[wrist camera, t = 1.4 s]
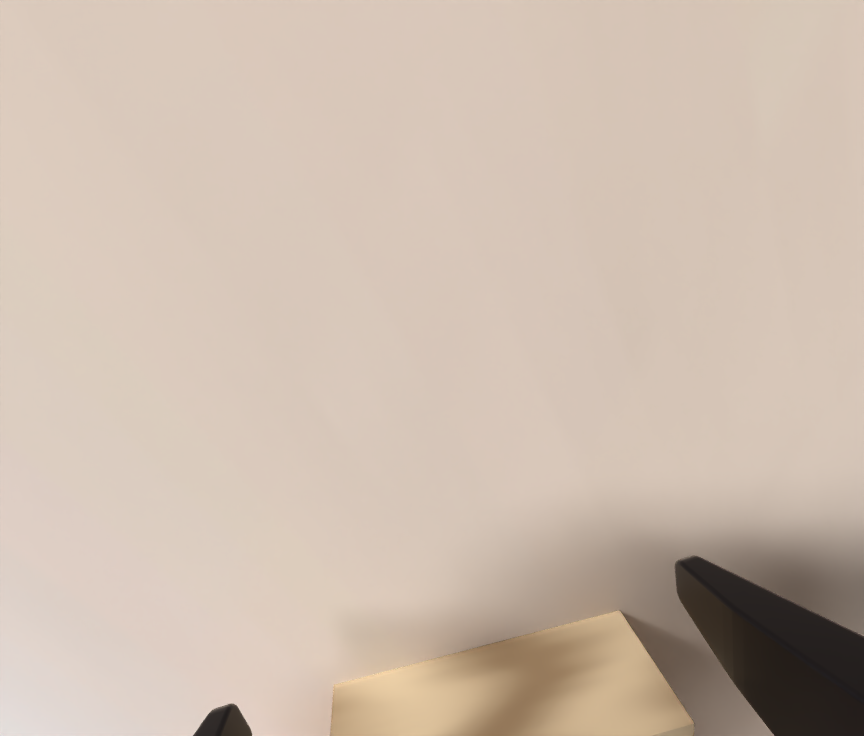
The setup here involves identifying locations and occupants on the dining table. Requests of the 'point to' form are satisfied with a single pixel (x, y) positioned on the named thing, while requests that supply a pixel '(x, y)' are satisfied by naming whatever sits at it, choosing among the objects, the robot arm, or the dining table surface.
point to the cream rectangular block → (521, 690)
